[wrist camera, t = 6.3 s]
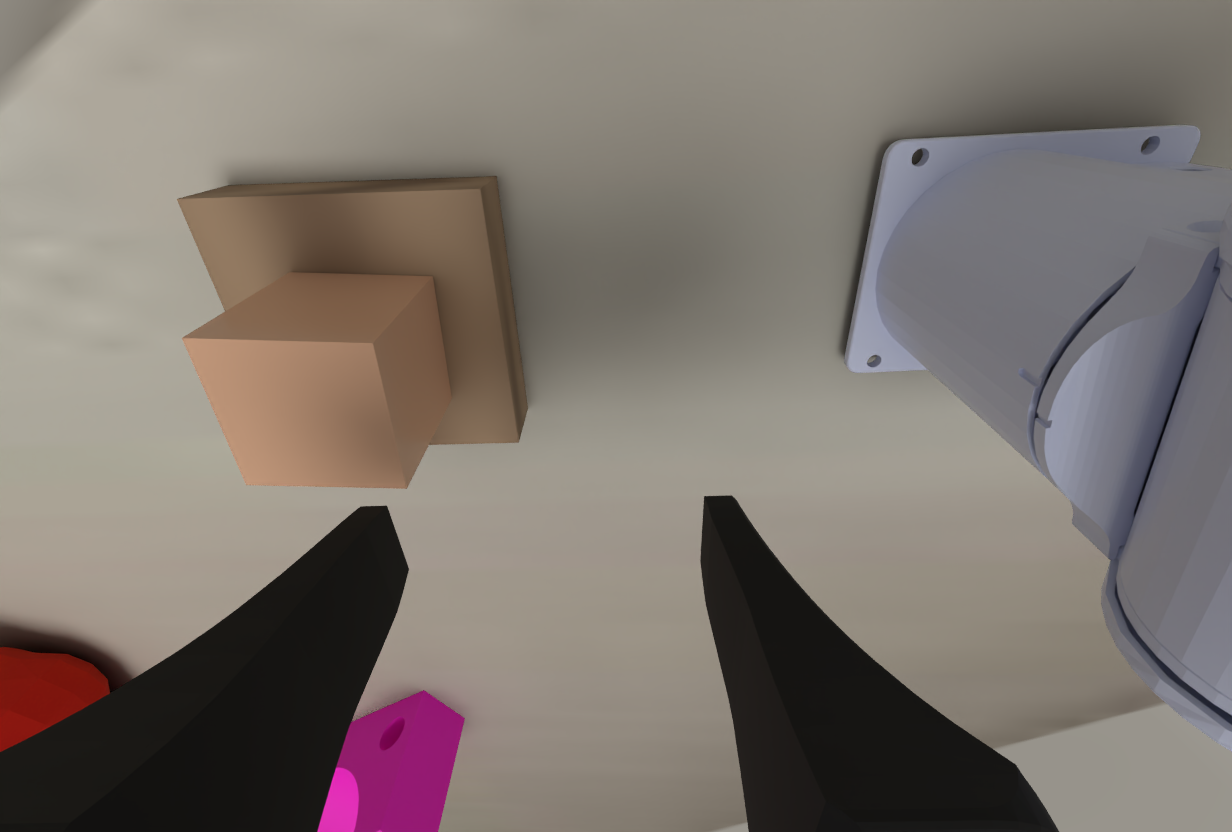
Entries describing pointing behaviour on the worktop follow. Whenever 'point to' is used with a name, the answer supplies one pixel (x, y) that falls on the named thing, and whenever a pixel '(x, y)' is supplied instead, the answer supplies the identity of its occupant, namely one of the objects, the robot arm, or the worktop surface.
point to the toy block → (394, 769)
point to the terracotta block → (327, 379)
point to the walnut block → (387, 270)
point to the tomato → (43, 691)
